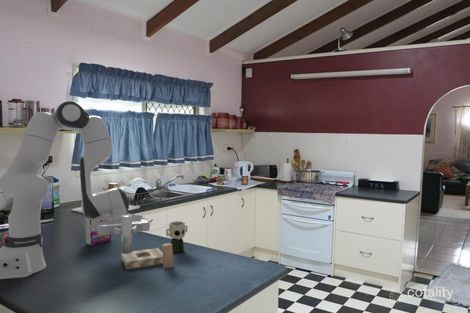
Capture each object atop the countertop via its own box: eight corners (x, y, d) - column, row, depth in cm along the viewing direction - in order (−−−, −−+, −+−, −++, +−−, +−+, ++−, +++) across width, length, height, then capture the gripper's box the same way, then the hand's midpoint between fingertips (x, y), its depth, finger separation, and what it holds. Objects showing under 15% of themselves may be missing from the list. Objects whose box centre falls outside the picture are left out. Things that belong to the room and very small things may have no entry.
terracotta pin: (165, 268, 155) (164, 247, 154) (162, 265, 158) (160, 244, 158) (174, 266, 157) (173, 245, 156) (171, 263, 160) (170, 242, 160)
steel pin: (121, 254, 147) (122, 217, 146) (120, 251, 150) (120, 215, 150) (132, 253, 149) (133, 217, 148) (130, 250, 152) (131, 214, 151)
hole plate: (126, 269, 154) (126, 262, 154) (121, 259, 165) (121, 252, 165) (165, 263, 161) (165, 256, 161) (158, 254, 172) (158, 247, 172)
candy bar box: (105, 238, 195) (104, 206, 194) (111, 240, 192) (110, 207, 191) (85, 243, 187) (84, 210, 185) (91, 245, 184) (90, 211, 182)
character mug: (170, 255, 171) (170, 226, 170) (162, 251, 176) (162, 223, 175) (191, 250, 178) (191, 222, 176) (183, 246, 183) (183, 219, 182)
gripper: (94, 217, 156) (98, 225, 143) (145, 214, 165) (153, 221, 152) (94, 233, 156) (98, 242, 144) (145, 228, 165) (152, 237, 153)
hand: (127, 231), depth 148 cm, fingers closed on steel pin, 4 cm apart
